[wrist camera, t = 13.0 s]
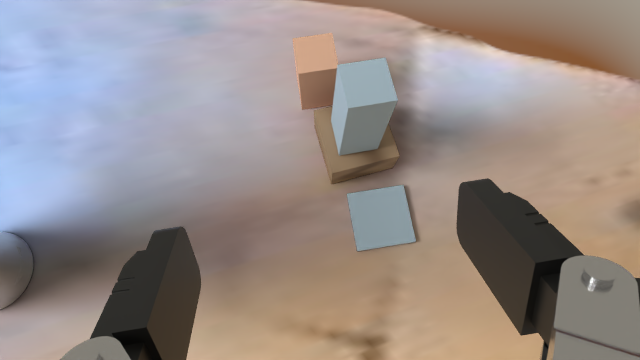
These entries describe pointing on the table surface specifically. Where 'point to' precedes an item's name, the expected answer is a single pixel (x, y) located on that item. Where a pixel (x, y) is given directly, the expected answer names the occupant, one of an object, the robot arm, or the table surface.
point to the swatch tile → (380, 218)
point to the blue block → (362, 105)
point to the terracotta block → (315, 69)
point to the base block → (354, 162)
